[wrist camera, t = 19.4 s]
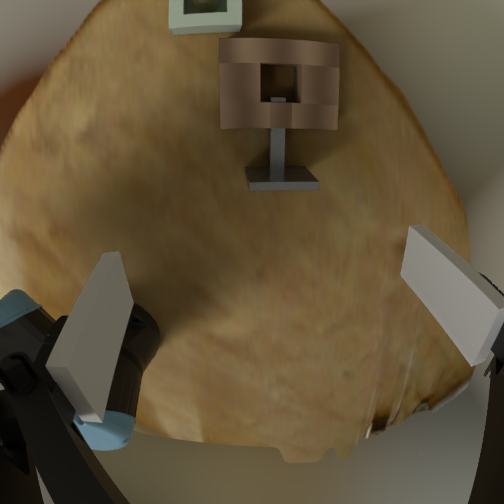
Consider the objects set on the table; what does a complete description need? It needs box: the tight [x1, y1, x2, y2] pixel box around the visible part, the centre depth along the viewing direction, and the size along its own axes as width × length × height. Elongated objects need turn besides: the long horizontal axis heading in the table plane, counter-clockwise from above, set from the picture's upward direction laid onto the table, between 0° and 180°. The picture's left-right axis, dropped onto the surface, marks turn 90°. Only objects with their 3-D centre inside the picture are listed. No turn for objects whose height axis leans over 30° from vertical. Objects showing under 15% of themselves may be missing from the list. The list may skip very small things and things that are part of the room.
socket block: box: [219, 38, 340, 130], centre depth 35 cm, size 14×11×4 cm
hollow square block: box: [169, 0, 242, 35], centre depth 29 cm, size 8×8×5 cm
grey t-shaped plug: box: [245, 97, 319, 191], centre depth 37 cm, size 8×10×7 cm
